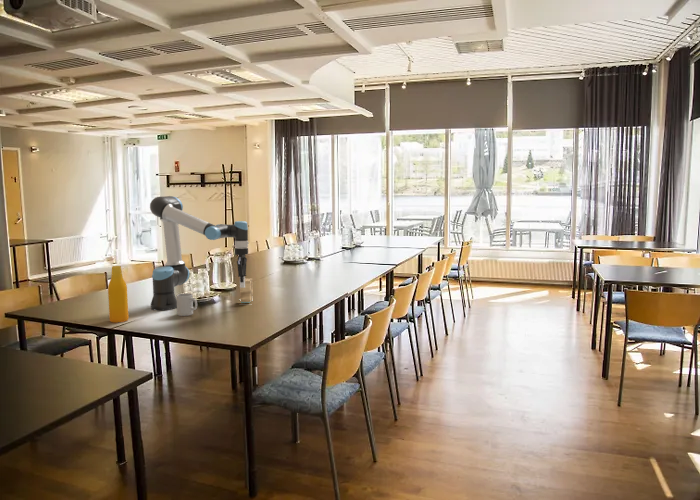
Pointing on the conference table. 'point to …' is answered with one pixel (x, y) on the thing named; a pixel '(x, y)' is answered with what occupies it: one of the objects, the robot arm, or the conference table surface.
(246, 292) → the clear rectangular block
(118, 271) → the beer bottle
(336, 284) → the conference table surface
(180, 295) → the mug
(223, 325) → the conference table surface
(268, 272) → the conference table surface
